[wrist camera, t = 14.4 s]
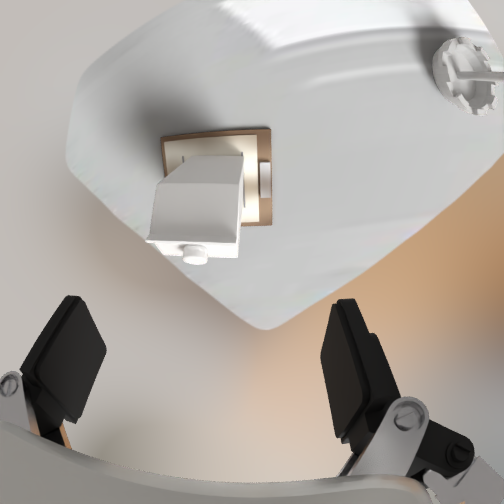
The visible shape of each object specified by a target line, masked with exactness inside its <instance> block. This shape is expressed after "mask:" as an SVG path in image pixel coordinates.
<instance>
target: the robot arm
mask: <svg viewBox="0 0 504 504" xmlns="http://www.w3.org/2000/svg"><path fill="white" fill-rule="evenodd" d="M106 351H107V350H106V345H105V343H104V341H103V339H102V337H101V335H100V333H99V331H98V329H97V327H96V325H95V323H94V321H93V319H92V317H91V315H90V312H89V310H88V308H87V306H86V303H85V302H84V301H83V300H82V299H81V297H79V296H70V295H68V296H66V297H65V298H64V300H63V301H62V303H61V304H60V305H59V307H58V308H57V310H56V311H55V313H54V314H53V315H52V317H51V318H50V320H49V321H48V323H47V325H46V326H45V328H44V329H43V331H42V332H41V334H40V335H39V337H38V339H37V340H36V342H35V343H34V345H33V347H32V348H31V350H30V352H29V354H28V356H27V357H26V359H25V361H24V362H23V364H22V366H21V368H20V371H21V372H22V373H23V375H22V377H21V375H20V374H19V373H17V372H15V371H10V372H7V373H6V374H4V375H3V376H2V377H1V379H0V504H433V503H432V500H431V498H430V496H429V494H428V492H427V490H426V488H430V489H431V490H432V491H433V492H434V493H435V494H436V495H435V497H436V498H437V499H438V500H439V502H440V503H441V504H500V503H501V502H502V500H503V498H504V479H503V478H502V477H501V476H500V475H499V474H497V472H496V471H495V470H493V468H492V467H490V466H489V465H488V464H487V463H486V462H485V461H484V460H483V459H482V458H481V457H480V456H478V457H477V458H476V457H475V456H474V446H473V443H472V442H471V441H470V439H468V438H467V437H465V436H463V435H461V434H459V433H457V432H454V431H452V430H450V429H448V428H446V427H444V426H442V425H440V424H438V423H436V422H434V421H432V420H430V419H429V412H428V410H427V408H426V406H425V405H424V404H423V402H422V401H420V400H418V399H417V398H414V397H402V398H401V396H400V393H399V390H398V387H397V385H396V382H395V379H394V377H393V374H392V372H391V369H390V367H389V364H388V361H387V359H386V356H385V354H384V352H383V349H382V346H381V345H380V342H379V339H378V337H377V335H376V334H374V333H369V331H368V329H367V326H366V324H365V322H364V319H363V317H362V314H361V312H360V310H359V307H358V305H357V303H356V301H355V299H339V300H338V301H337V304H333V305H332V307H331V312H330V316H329V321H328V326H327V329H326V334H325V338H324V342H323V346H322V350H321V357H320V358H321V364H322V369H323V374H324V378H325V383H326V389H327V393H328V399H329V403H330V409H331V414H332V420H333V425H334V430H335V435H336V437H337V438H341V443H342V444H346V443H350V447H351V451H352V452H353V453H352V455H351V456H350V458H349V459H348V461H347V462H346V463H345V465H344V466H343V468H342V469H341V471H340V472H339V474H338V475H337V476H336V477H333V478H323V479H314V480H304V481H291V482H270V483H234V482H215V481H204V480H194V479H186V478H179V477H172V476H166V475H160V474H155V473H150V472H145V471H140V470H136V469H132V468H128V467H124V466H120V465H117V464H113V463H109V462H106V461H103V460H100V459H97V458H94V457H90V456H88V455H85V454H82V453H79V452H77V451H74V450H72V448H71V445H70V442H69V440H68V437H67V434H66V431H65V428H64V425H63V419H65V420H66V421H69V422H72V423H75V424H76V423H77V420H78V418H80V417H81V415H82V413H83V410H84V407H85V405H86V402H87V399H88V396H89V394H90V391H91V389H92V386H93V384H94V381H95V379H96V376H97V374H98V371H99V369H100V367H101V364H102V362H103V359H104V357H105V355H106Z"/></svg>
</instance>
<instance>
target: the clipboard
mask: <svg viewBox="0 0 504 504" xmlns="http://www.w3.org/2000/svg"><path fill="white" fill-rule="evenodd" d="M161 146H162V156H163V165H164V173H165V177H166V176H168V175H169V174H170V173H171V172H172V171H174V170H175V169H176V168H177V167H179V166H180V165H181V164H182V163H184V162H185V161H186V160H187V159H189V158H190V157H191V156H195V155H224V156H244V180H243V207H242V217H241V226H267V225H272V163H271V129H252V130H230V131H215V132H203V133H193V134H183V135H175V136H167V137H161Z"/></svg>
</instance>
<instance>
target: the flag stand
mask: <svg viewBox="0 0 504 504" xmlns="http://www.w3.org/2000/svg"><path fill="white" fill-rule="evenodd" d="M489 59H490V57H489V56H488V54H487V53H486V52H485V50H484V49H483V48H482V47H476V46H475V45H474V44H473V43H472V42H471V39H469V38H465V37H459V38H453V39H449V40H447V41H446V42H444V43H443V45H442V46H441V47H440V48H439V49H438V50H437V51H436V52H435V54H434V56H433V61H432V70H433V76H434V79H435V82H436V84H437V86H438V88H439V90H440V92H441V93H442V95H443V96H444V97H445V98H446V99H447V100H448V101H449V102H451V103H452V104H454V105H456V106H457V107H458V108H459V109H461V110H462V111H464V112H466V113H468V114H474V115H480V116H485V115H487V114H486V112H487V111H488V110H489V109H495V107H496V105H497V102H498V99H497V98H496V96H494V94H495V86H499V82H504V72H492V71H491V68H490V66H489V64H488V62H487V61H488V60H489Z"/></svg>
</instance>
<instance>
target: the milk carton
mask: <svg viewBox="0 0 504 504" xmlns="http://www.w3.org/2000/svg"><path fill="white" fill-rule="evenodd" d="M243 180H244V156H224V155H195V156H191V157H190V158H189V159H187V160H186V161H185V162H184V163H182V164H181V165H180V166H179V167H177V168H176V169H175V170H174V171H172V172H171V173H170V174H169V175H168V176H166V177H165V178H164V179H163V180H162V181H160V182H159V183H158V184H157V186H156V192H155V199H154V205H153V212H152V219H151V226H150V234H149V236H148V237H147V239H146V240H145V241H146V243H155V244H156V246H157V247H158V248H159V250H160V251H161V252H162V254H163V255H175V256H183V261H185V262H186V263H189V264H195V265H201V264H205V263H207V259H208V257H223V258H238V249H239V238H240V227H241V217H242V207H243Z"/></svg>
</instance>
